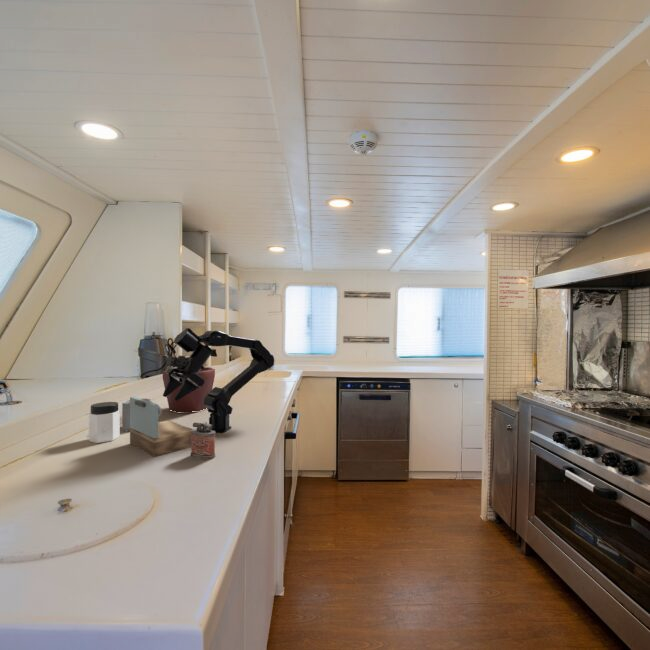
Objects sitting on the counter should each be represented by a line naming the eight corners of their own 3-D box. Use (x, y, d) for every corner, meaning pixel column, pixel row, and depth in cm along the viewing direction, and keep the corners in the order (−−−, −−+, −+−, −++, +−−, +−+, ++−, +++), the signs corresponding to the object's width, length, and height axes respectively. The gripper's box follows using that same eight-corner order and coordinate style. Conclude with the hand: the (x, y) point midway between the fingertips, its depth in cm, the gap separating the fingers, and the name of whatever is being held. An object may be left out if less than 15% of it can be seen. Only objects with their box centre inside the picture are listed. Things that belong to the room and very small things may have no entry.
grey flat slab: (133, 426, 117) (133, 396, 117) (158, 437, 106) (158, 404, 106) (127, 428, 116) (127, 397, 116) (151, 439, 104) (151, 405, 104)
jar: (88, 444, 115) (88, 408, 116) (89, 438, 122) (89, 403, 122) (120, 439, 120) (120, 404, 120) (118, 433, 127) (118, 400, 127)
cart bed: (168, 434, 126) (168, 420, 126) (194, 445, 115) (194, 429, 115) (129, 443, 116) (130, 428, 116) (154, 456, 105) (154, 439, 105)
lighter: (217, 456, 105) (217, 422, 105) (210, 460, 102) (210, 425, 102) (195, 452, 108) (195, 420, 108) (187, 456, 104) (187, 423, 105)
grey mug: (119, 431, 130) (119, 404, 130) (125, 424, 139) (125, 399, 139) (159, 428, 134) (159, 402, 134) (162, 421, 144) (162, 397, 144)
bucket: (188, 417, 151) (188, 358, 151) (149, 413, 159) (149, 357, 159) (224, 405, 173) (224, 354, 174) (188, 402, 181) (188, 353, 182)
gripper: (168, 345, 128) (139, 382, 120) (192, 347, 115) (161, 388, 107) (191, 363, 134) (165, 399, 127) (216, 366, 121) (189, 407, 114)
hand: (169, 398), depth 118 cm, fingers open, 9 cm apart
